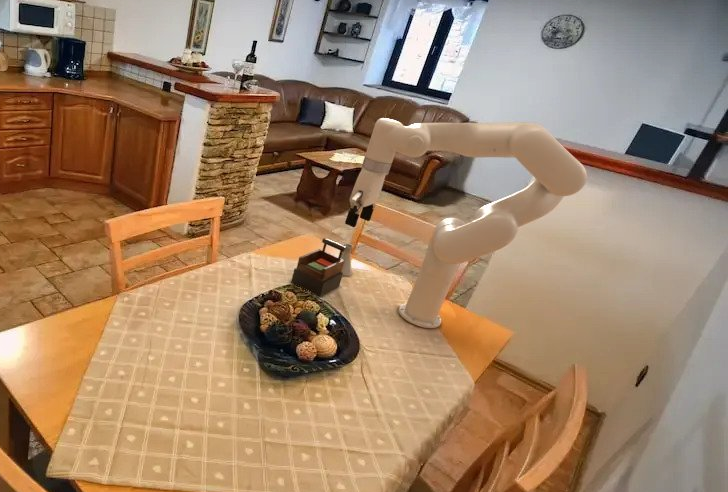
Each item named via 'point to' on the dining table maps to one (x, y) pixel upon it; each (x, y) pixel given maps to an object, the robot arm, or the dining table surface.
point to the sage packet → (316, 267)
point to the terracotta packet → (323, 262)
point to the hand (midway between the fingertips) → (357, 222)
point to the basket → (319, 254)
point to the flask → (347, 260)
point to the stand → (316, 282)
